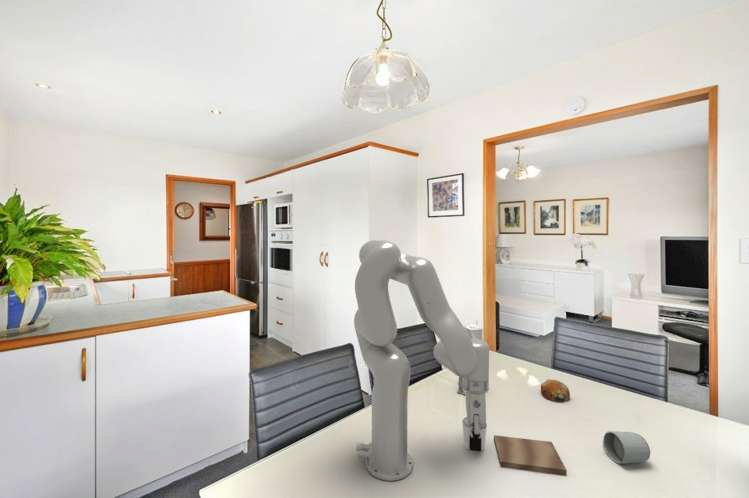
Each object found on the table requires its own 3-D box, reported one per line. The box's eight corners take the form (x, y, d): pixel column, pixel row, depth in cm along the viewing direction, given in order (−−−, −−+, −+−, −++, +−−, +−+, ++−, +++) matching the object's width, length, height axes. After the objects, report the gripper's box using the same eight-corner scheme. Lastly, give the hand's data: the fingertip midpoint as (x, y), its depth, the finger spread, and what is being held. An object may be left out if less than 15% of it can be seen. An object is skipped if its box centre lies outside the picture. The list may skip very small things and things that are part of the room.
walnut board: (500, 467, 89) (500, 461, 89) (493, 440, 101) (493, 435, 101) (566, 475, 86) (566, 469, 86) (551, 446, 98) (551, 441, 98)
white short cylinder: (488, 454, 94) (488, 430, 94) (462, 451, 95) (463, 427, 95) (485, 440, 101) (485, 417, 101) (461, 437, 102) (461, 414, 102)
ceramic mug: (652, 468, 89) (653, 439, 89) (624, 470, 88) (625, 441, 88) (619, 444, 99) (619, 418, 99) (593, 446, 98) (594, 420, 98)
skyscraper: (465, 385, 138) (466, 317, 137) (485, 390, 133) (486, 320, 132) (457, 393, 131) (458, 322, 130) (477, 399, 126) (478, 325, 125)
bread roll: (569, 405, 129) (570, 383, 131) (568, 404, 121) (569, 381, 123) (541, 399, 134) (542, 378, 137) (538, 397, 126) (540, 375, 129)
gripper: (492, 398, 88) (491, 465, 89) (484, 372, 105) (484, 428, 106) (463, 395, 90) (462, 461, 90) (460, 370, 107) (459, 426, 107)
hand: (474, 443), depth 98 cm, fingers closed on white short cylinder, 5 cm apart
